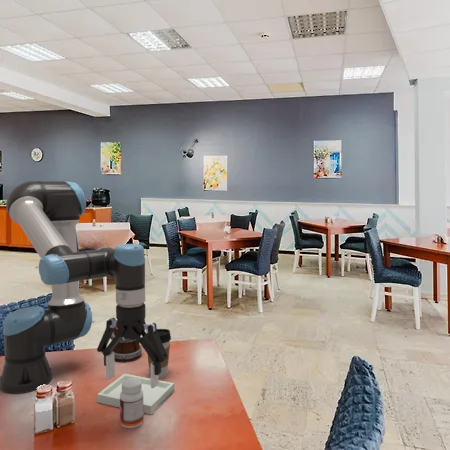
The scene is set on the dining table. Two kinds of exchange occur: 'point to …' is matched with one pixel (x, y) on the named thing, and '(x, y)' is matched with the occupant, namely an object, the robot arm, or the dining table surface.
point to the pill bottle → (131, 403)
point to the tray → (150, 395)
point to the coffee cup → (165, 339)
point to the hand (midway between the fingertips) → (132, 381)
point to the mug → (126, 349)
